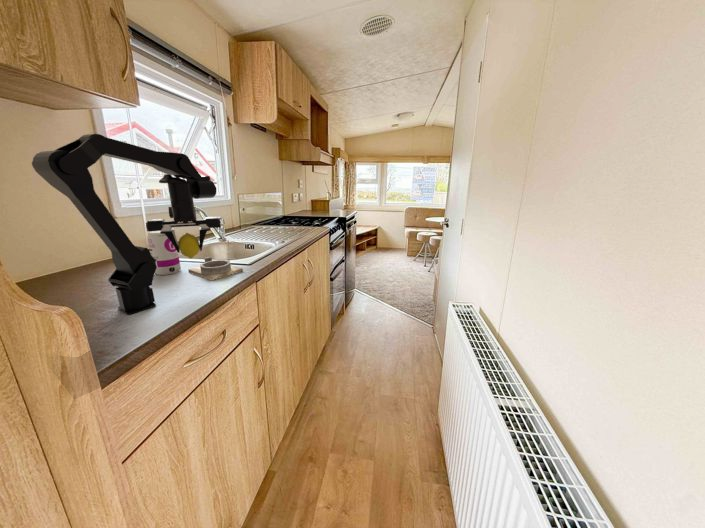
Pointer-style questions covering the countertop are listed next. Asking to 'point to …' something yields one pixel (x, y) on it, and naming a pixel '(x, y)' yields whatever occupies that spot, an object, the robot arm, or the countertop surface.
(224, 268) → the carrier board
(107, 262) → the countertop surface
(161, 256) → the supplement can
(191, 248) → the lemon
